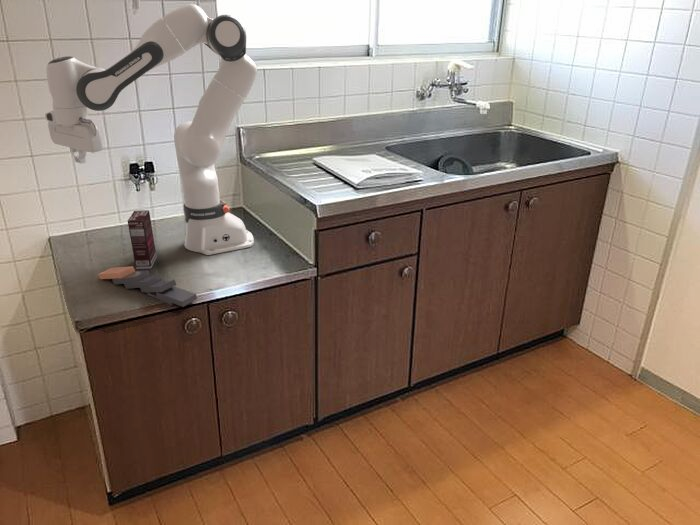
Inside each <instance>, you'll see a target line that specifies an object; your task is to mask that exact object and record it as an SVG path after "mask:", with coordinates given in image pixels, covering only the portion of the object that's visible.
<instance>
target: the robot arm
mask: <svg viewBox="0 0 700 525" xmlns="http://www.w3.org/2000/svg"><path fill="white" fill-rule="evenodd" d="M199 44H204V45H205V46H207V48H209V49H210V50H211V51H212V52H214V53H215V54H216V55H218V56H219V57H220V64H219V67H218V69H217V71H216V73H215V74H214V76H213V78H212V79H211V81H210V83H209V84H208V86H207V87H206V89H205V91H204V92H203V94H202V96H201V98H200V100H199V101H198V107H197V108H196V111H195V113H194V117H193V120H189V121H183V122H181V123H180V124H178V125H177V127H175V129H174V134H173V142H174V143H173V144H174V147H175V148H174V149H175V154H176V159H177V164H178V169H179V173H180V178H181V184H182V194H183V201H184V203H183V216H184V220H185V221H184V222H185V238H184V239H185V240H184V244H183V245H184V248H185V249H187V250H188V251H191V252H195V253H201V254H203V255H206V256H209V255H211V256H212V255H215V254H220V253H226V252H231V251H237V250H242V249H246V248H251V247H252V246H253V245H254V244H255V239H254V236H253V234H252V232H250V231H249V230H248V229H246V225H245V224H244V221H243V220H242V219H241V218H239V217H237V216H236V215H234V214H232V213H231V212H230V207H229V205H227V203H226V202H225V201H224V200H220V199H221V198H220V190H219V188H220V187H219V179H218V174H217V172H216V166H215V163H217V161H218V160H219V157H220V153H221V149H222V145H223V144H224V141H225V139H226V136H227V135H228V131H229V129H230V126H231V124H232V122H233V120H234V118H235V117H236V115H237V114H238V112H239V110H240V109H241V107H242V104H244V102H245V100H246V98H247V97H248V95H249V93H250V91H251V89H252V87H253V85H254V82H255V80H256V77H257V74H258V69H257V68H258V67H257V65H256V63H255V62H254V60H252V58H251V57H249V56H248V55H247V32H246V28H245V26H244V24H243V22H241V20H240V19H238V18H237V17H235V16H233V15H231V14H221V15H218V16H216V17H215V18H210V17H209V16H208V15H207V14H206V13H205V11H204V10H203V8H201V7H200V6H199V5H198V4H194V3H188V4H184V5H183V6H180V7H178V8H176V9H174V10H172V11H169V12H168V13H167V14H165V15H163V16H162V17H160V18H159V19H157V20H155V22H154V23H152V24H151V25H150V26H149V27H148V28H147V29H146V30H145V31H144V32H143V33H142V36H141V37H140V39H139V41H138V43H137V44H136V46H135V47H134V48H133V50H131V52H129V53H128V54H127V55H125V56H124V57H123V58H121V59H120V60H118V61H117V62H115V63H114V64H112V65H111V66H110V67H109V68H107V69H105V68H102V67H98V66H94V65H90V64H88V63H85V62H83V61H81V60H78V59H77V58H75V57H74V56H71V55H70V56H62V57H61V56H60V57H57V58H54V59H51V60H50V61H49V62H48V64H47V65H46V78H47V85H48V91H49V93H50V95H51V97H52V110H50V111H48V112H46V113H44V116H45V120H46V121H48V122H47V127H48V131H49V135H50V136H49V137H50V139H51V141H52V142H53V144H54V145H59V146H63V147H67V148H69V151H70V152H71V155H72V156H73V158H74V162H75V163H78V164H86V162H87V161H86V160H87V159H86V156H87V153H91V154H93V153H98V152H99V153H100V152H101V151H103V147H104V146H103V142H102V138H101V134H100V131H99V128H98V127H97V125H96V124H95V123H94V122H93V120H92V119H90V118H89V112H88V109H89V110H92V111H95V112H101V111H106V110H108V109H110V108H111V107H112V106H113V105H114V104H115V102H116V101H117V99H118V97H119V94H120V93H121V92H122V91H123V90H124V89H125V88H127V87H128V86H129V85H130V84H132V83H134V82H135V81H136V80H138V79H139V78H141V77H142V76H144V75H145V74H146V73H147V72H149V71H152V70H153V69H155V68H157V67H160V66H162V65H164V64H166V63H169V62H171V61H173V60H175V59H177V58H179V57H180V56H182V55H184V54H185V53H187V52H188V51H189V50H191V49H193V48H194V47H195V46H198V45H199Z"/></svg>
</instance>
